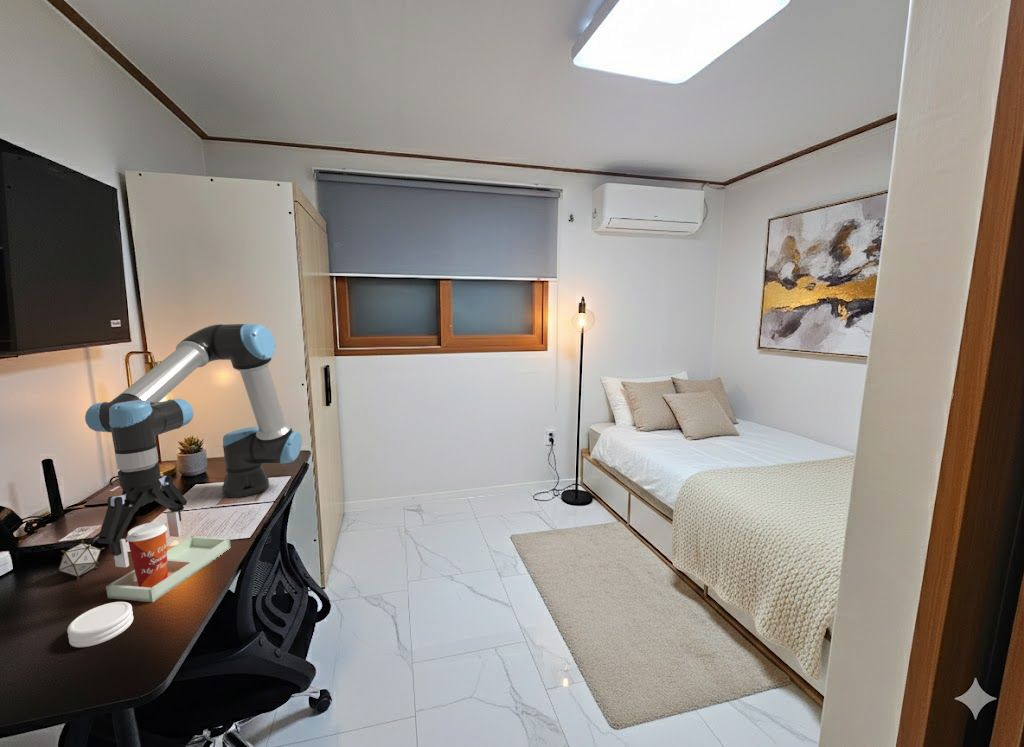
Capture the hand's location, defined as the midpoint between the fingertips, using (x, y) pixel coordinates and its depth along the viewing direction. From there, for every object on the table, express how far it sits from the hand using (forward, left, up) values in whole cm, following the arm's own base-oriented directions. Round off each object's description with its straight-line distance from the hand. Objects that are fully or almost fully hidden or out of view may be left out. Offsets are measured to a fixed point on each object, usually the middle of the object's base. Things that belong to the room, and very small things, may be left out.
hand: (150, 550), depth 107 cm
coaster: (+16, +4, -9) cm, 19 cm away
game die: (-1, -23, -9) cm, 25 cm away
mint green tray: (-5, 0, -9) cm, 10 cm away
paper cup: (0, 0, -8) cm, 8 cm away
